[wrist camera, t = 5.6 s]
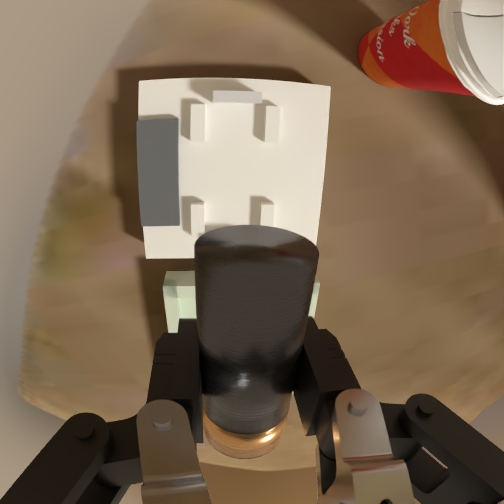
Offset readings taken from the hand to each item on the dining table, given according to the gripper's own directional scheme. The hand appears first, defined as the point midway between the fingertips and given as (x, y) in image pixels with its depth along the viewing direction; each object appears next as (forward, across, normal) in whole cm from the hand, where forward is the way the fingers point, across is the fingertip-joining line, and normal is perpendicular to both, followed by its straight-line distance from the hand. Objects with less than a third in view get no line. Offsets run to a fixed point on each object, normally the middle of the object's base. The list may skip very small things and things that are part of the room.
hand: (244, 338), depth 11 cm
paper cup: (+17, -13, -14) cm, 26 cm away
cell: (0, 0, 0) cm, 1 cm away
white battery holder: (+17, 0, -3) cm, 17 cm away
